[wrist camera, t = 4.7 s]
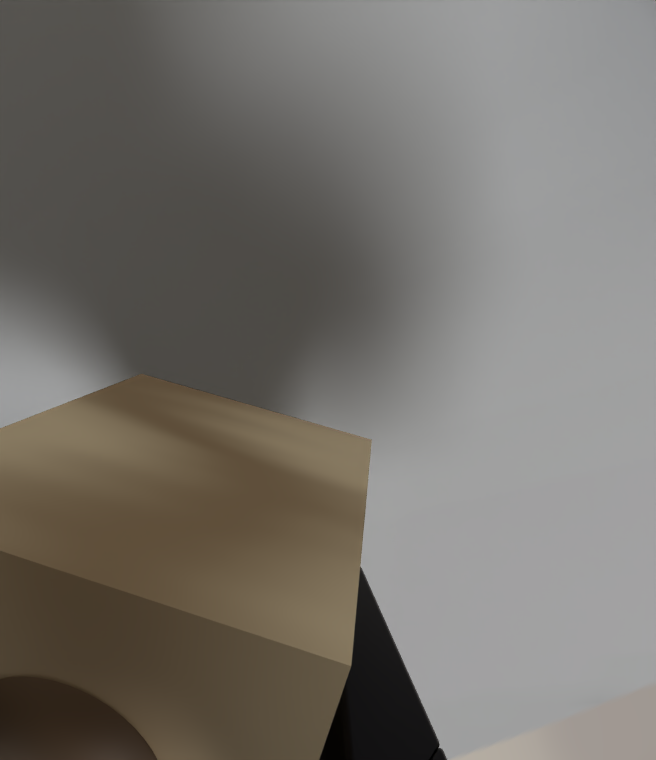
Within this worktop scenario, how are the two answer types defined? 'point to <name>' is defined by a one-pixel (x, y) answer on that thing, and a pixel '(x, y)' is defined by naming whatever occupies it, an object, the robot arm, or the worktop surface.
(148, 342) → the worktop surface
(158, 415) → the maple block
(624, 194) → the worktop surface
